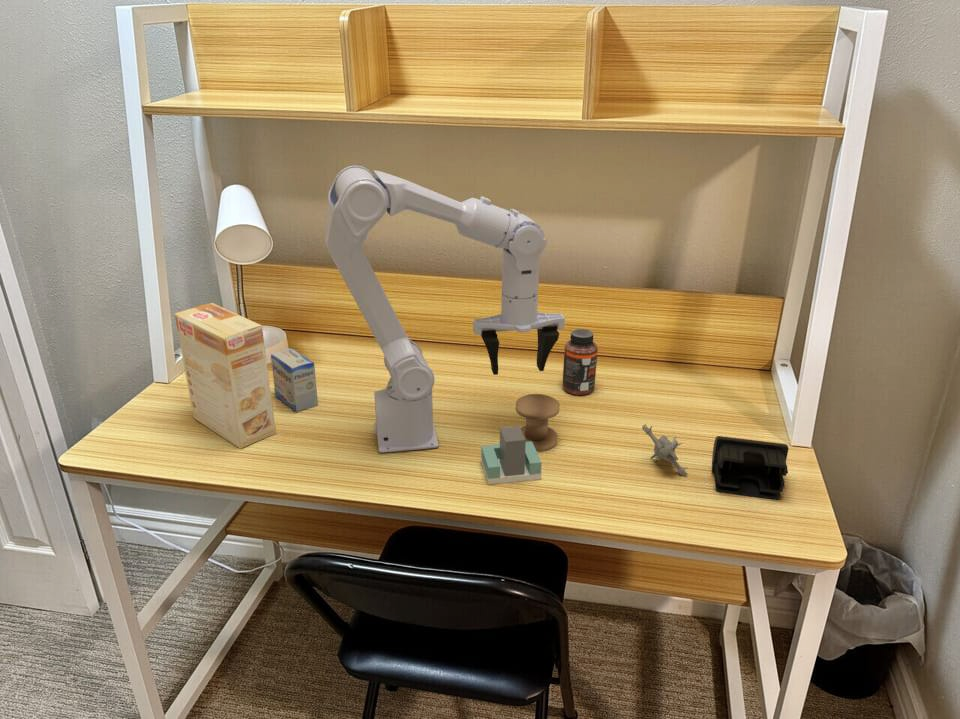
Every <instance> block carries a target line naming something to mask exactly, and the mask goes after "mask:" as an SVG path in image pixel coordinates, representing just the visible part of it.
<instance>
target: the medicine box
mask: <svg viewBox="0 0 960 719" xmlns="http://www.w3.org/2000/svg"><path fill="white" fill-rule="evenodd" d="M270 361H271V362H270V363H271V368H272V371H271V372H272V379H273V387H274V388H273V389H274V397H276V399H278V400H279V401H280V402H282V403H284V404H285V405H287V406H288V407H289V408H290V409H292V410H293V411H295V412H296V413H299V412H302V411H305V410H308V408H309V409H311V408H314V407H316V406H318V405H319V400H318V397H319V396H318V388H317V378H316V369H315V368H316V367H315V362H314V361H312V360H311V359H309V358H307V357H306V356H305V355H303V354H301V353H300V352H298V351H297V350H295V349H294V348H292V347H291V348H286V349H283V350H279V351H276V352H274V353H271V354H270Z"/></svg>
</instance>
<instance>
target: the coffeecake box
mask: <svg viewBox="0 0 960 719" xmlns="http://www.w3.org/2000/svg"><path fill="white" fill-rule="evenodd" d="M174 317H175V322H176V328H177V334H178V339H179V344H180V350H181V356H182V360H183V367H184V372H185V377H186V382H187V387H188V394H189V400H190V405H191V409H192V410H191V411H192V416H193V419H195V420H196V421H197V422H199V423H200V424H202V425H204V426H205V427H207V428H208V429H210V430H212V432H215V433H216V434H217V435H219V436H220V437H222V438H224V439H225V440H226V441H228V442H229V443H232V444H233V445H235V446H236V447H237V448H239V449H240V450H241V449H243V448H246V447H248V446H250V445H252V444H254V443H256V442H259V441H262V440H263V439H267V438H269V437H271V436H273V435H276V434H277V431H276V424H275V423H276V422H275V415H274V406H273V400H272V399H273V398H272V393H271V392H272V391H271V385H270V378H269V377H270V376H269V371H268V363H267V355H266V354H267V353H266V346H265V340H264V332H263V325H262V324H260V323H257V322H256V321H253V320H251V319H248V318H246V317H244V316H242V315H239V314H238V313H236V312H233V311H230V310H228V309H227V308H225V307H223V306H220V305H218V304H216V303H214V302H211V303H210V302H209V303H205V304H202V305H197V306H195V307H192V308H189V309H184V310H181V311H178V312H175V313H174Z"/></svg>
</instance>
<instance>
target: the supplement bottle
mask: <svg viewBox="0 0 960 719" xmlns="http://www.w3.org/2000/svg"><path fill="white" fill-rule="evenodd" d="M598 350H599V348H598V345H597V344H596V343H595V342H594V332H593V331H592V330H590V329H587V328H576V329H573V330H571V332H570V340H568V341H567V342H566V343H565V345H564V352H563V366H562V367H563V370H562V389H563V390H564V391H565V392H567V393H568V394H572V395H578V396H585V395H589V394H591V393H592V392H593V391H594V390H595V386H596V376H597V375H596V373H597V362H598Z"/></svg>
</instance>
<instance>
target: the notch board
mask: <svg viewBox="0 0 960 719" xmlns="http://www.w3.org/2000/svg"><path fill="white" fill-rule="evenodd" d="M480 450H481V453H480V457H481V458H480V461H481V462H480V463H481V466H482V469H483V472H484V475H485V478H486V479H485V480H486V482H487V484H488V485H495V484H496V485H498V484H507V483H508V484H509V483H516V482H517V483H518V482H527V481H536V480H542V464H543V463H542V460H541V458H540V455H539V453H538V451H536V449H535V447H534V445H533V442H532V441H529V442H526V445H525V473H524V475H514V476H504V473H503V470H502V467H501V465H500V462H499V457H500V443H499V444H498V443H497V444H490V445H487V444H486V445H481V449H480Z"/></svg>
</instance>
